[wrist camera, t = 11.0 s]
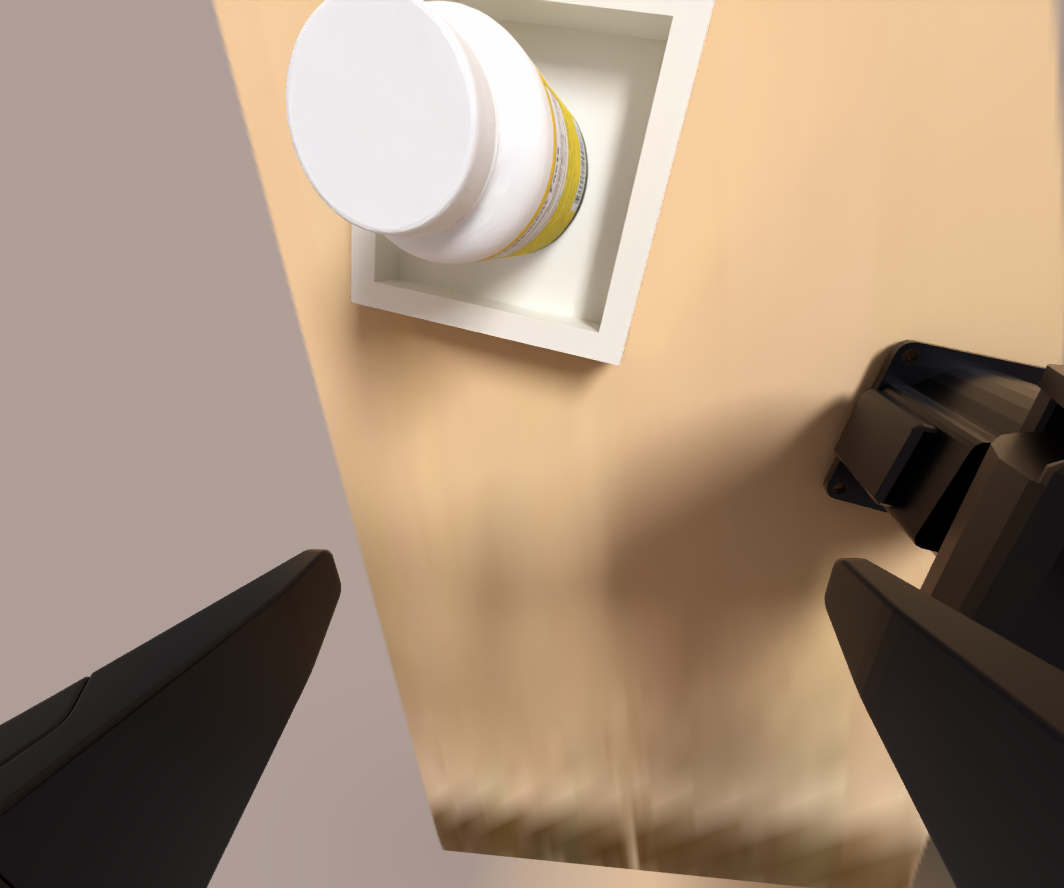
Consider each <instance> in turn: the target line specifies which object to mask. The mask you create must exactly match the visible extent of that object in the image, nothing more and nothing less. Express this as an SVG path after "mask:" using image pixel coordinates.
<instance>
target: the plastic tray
mask: <svg viewBox="0 0 1064 888" xmlns="http://www.w3.org/2000/svg"><path fill="white" fill-rule="evenodd" d="M423 1H425V2H426V1H450V2H455V3H460V4H463V5H466V6H469V7H471V8H474V9H477V10H479V11H481V12H482V13H484V14H486V15H488V16H489V17H491V18H492V19H493V20H495V21H496V22H497V23H498V24H500V25H501V26H502V27H503V28H504V29H505V30H506V31H507V32H508V33H509V34H510V35H511V36H512V37H513V38H514V39H515V40H516V41H517V42H518V44H519V45H520V46H521V47H522V49H523V50H524V51H525V53H526V54H527V55H528V57H529V58H530V59H531V61H532V62H533V63H534V65H535V66H536V67H537V69H538V70H539V71H540V73H541V74H542V75H543V77H544V78H545V79H546V81H547V82H548V83H549V84H550V86H551V87H552V88H553V90H554V91H555V92H556V94H557V95H558V96H559V98H560V99H561V100H562V101H563V103H564V104H565V105H566V107H567V108H568V109H569V111H570V112H571V114H572V115H573V117H574V118H575V120H576V122H577V124H578V125H579V127H580V130H581V132H582V134H583V137H584V140H585V144H586V148H587V154H588V163H589V176H588V185H587V190H586V194H585V198H584V201H583V204H582V206H581V209H580V211H579V213H578V215H577V216H576V218H575V220H574V221H573V223H572V224H571V225H570V227H569V228H568V229H567V231H566V232H565V233H564V234H563V235H562V236H561V237H560V238H558V239H557V240H556V241H555V242H553V243H552V244H550V245H549V246H547V247H545V248H543V249H541V250H539V251H536V252H533V253H530V254H525V255H521V256H514V257H506V258H499V259H491V260H484V261H478V262H470V263H461V264H457V263H452V264H450V263H439V262H432V261H429V260H425V259H422V258H419V257H417V256H414V255H412V254H410V253H408V252H406V251H405V250H403V249H401V248H399V247H398V246H397V245H395V244H394V243H393V242H391V241H390V240H389V239H388V238H387V237H386V236H384V235H383V234H378V233H373V232H370V231H367V230H364V229H362V228H359V227H357V226H355V225H353V224H352V254H351V302H352V303H356V304H360V305H364V306H369V307H373V308H377V309H381V310H386V311H390V312H394V313H398V314H403V315H407V316H411V317H415V318H419V319H424V320H428V321H432V322H436V323H441V324H445V325H449V326H453V327H458V328H462V329H466V330H470V331H474V332H479V333H483V334H487V335H491V336H496V337H500V338H504V339H508V340H513V341H517V342H521V343H525V344H529V345H534V346H538V347H542V348H546V349H551V350H555V351H559V352H563V353H568V354H572V355H576V356H580V357H584V358H589V359H593V360H597V361H601V362H606V363H610V364H614V365H618V366H619V364H620V361H621V358H622V355H623V353H624V349H625V345H626V341H627V338H628V334H629V330H630V326H631V322H632V318H633V315H634V311H635V307H636V303H637V299H638V296H639V292H640V288H641V284H642V280H643V277H644V273H645V269H646V265H647V261H648V258H649V254H650V250H651V246H652V242H653V238H654V235H655V231H656V227H657V223H658V219H659V216H660V212H661V208H662V204H663V200H664V197H665V193H666V189H667V185H668V181H669V178H670V174H671V170H672V166H673V162H674V158H675V155H676V151H677V147H678V143H679V139H680V136H681V132H682V128H683V124H684V120H685V117H686V113H687V109H688V105H689V101H690V98H691V94H692V90H693V86H694V82H695V78H696V75H697V71H698V67H699V63H700V59H701V56H702V52H703V48H704V44H705V40H706V37H707V33H708V29H709V25H710V21H711V18H712V14H713V9H714V5H715V1H716V0H423Z"/></svg>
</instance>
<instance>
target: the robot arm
mask: <svg viewBox="0 0 1064 888" xmlns="http://www.w3.org/2000/svg"><path fill="white" fill-rule="evenodd" d="M909 349H913V350H914V355H913V356H912V358H911V359H909V360H907V361H903V359H902V357H903V354H904V353H905V352H906V351H907V350H909ZM835 452H836V454H837V457H836V459H835V461H834V463H833V465H832V467H831V469H830V471H829V473H828V474H827V476H826V478H825V480H824V484H823V485H824V489H825V490H826V492H827V493H828V494H829V496H830V497H832V498H834V499H838V500H842V501H846V502H849V503H853V504H857V505H861V506H865V507H869V508H872V509H876V510H880V511H884V512H888V513H889V514H890V515H891V516H892V517H893V518H894V520H895V521H896V522H897V523H898V524H899V526H900V527H901V528H902V529H903V530H904V531H905V533H906V534H907V535H908V536H909V537H910V539H911V540H912V541H913V542H914V543H915V544H916V545H917V546H918V547H920V548H923V549H927V550H931V551H932V553H933V554H934V555H935V556H936V558H935V560H934V562H933V564H932V566H931V568H930V570H929V572H928V574H927V576H926V578H925V581H924V583H923V585H922V587H921V589H920V590H919V589H918V588H916V587H914V586H912V585H911V584H909V583H907V582H905V581H904V580H902V579H900V578H898V577H896V576H895V575H893V574H891V573H889V572H888V571H886V570H884V569H882V568H881V567H879V566H877V565H875V564H873V563H872V562H870V561H868V560H866V559H861V558H840V559H838V560H836V562H835V563H834V565H833V568H832V572H831V575H830V579H829V582H828V586H827V589H826V593H825V606H826V610H827V612H828V615H829V618H830V620H831V623H832V626H833V628H834V631H835V633H836V636H837V639H838V641H839V644H840V646H841V649H842V652H843V654H844V657H845V660H846V662H847V665H848V667H849V670H850V673H851V675H852V678H853V680H854V683H855V685H856V688H857V690H858V693H859V695H860V697H861V699H862V701H863V704H864V706H865V708H866V710H867V712H868V714H869V716H870V718H871V720H872V722H873V724H874V726H875V728H876V730H877V732H878V734H879V736H880V738H881V740H882V742H883V744H884V746H885V748H886V749H887V751H888V753H889V755H890V757H891V759H892V761H893V763H894V765H895V767H896V769H897V771H898V773H899V775H900V777H901V779H902V781H903V783H904V785H905V787H906V789H907V791H908V793H909V795H910V797H911V799H912V801H913V803H914V805H915V807H916V809H917V811H918V813H919V815H920V817H921V819H922V821H923V823H924V825H925V827H926V829H927V831H928V833H929V835H930V837H931V839H932V840H933V842H934V844H935V846H936V848H937V850H938V852H939V854H940V856H941V858H942V860H943V862H944V864H945V866H946V868H947V870H948V872H949V874H950V876H951V878H952V880H953V882H954V884H955V886H956V888H1064V365H1053V364H1049V365H1047V367H1046V368H1044V367H1040V366H1035V365H1030V364H1025V363H1020V362H1016V361H1011V360H1006V359H1001V358H996V357H992V356H987V355H982V354H977V353H972V352H968V351H963V350H958V349H953V348H948V347H944V346H939V345H934V344H929V343H924V342H920V341H915V340H905V341H901V342H899V343H898V344H896V345H895V346H894V347H893V348H892V350H891V351H890V353H889V355H888V357H887V359H886V361H885V363H884V365H883V367H882V369H881V371H880V373H879V375H878V377H877V379H876V381H875V383H874V384H873V386H872V388H871V389H870V390H868V391H866V392H864V393H863V394H862V395H861V397H860V399H859V401H858V403H857V405H856V407H855V409H854V411H853V413H852V415H851V417H850V419H849V421H848V423H847V425H846V427H845V429H844V431H843V433H842V435H841V437H840V439H839V441H838V443H837V445H836V447H835ZM838 483H844V486H843V487H842V488H840V489H833V488H834V486H835V485H836V484H838ZM340 593H341V583H340V579H339V575H338V572H337V568H336V565H335V562H334V558H333V555H332V553H331V552H330V551H328V550H318V549H310V550H306V551H304V552H302V553H300V554H298V555H297V556H295V557H293V558H291V559H290V560H288V561H286V562H285V563H283V564H281V565H279V566H278V567H276V568H274V569H272V570H271V571H269V572H267V573H266V574H264V575H262V576H260V577H259V578H257V579H255V580H253V581H251V582H250V583H248V584H246V585H245V586H243V587H241V588H239V589H238V590H236V591H234V592H232V593H231V594H229V595H227V596H225V597H224V598H222V599H220V600H218V601H217V602H215V603H213V604H212V605H210V606H208V607H206V608H205V609H203V610H201V611H199V612H198V613H196V614H194V615H192V616H191V617H189V618H187V619H185V620H184V621H182V622H180V623H178V624H177V625H175V626H173V627H172V628H170V629H168V630H166V631H165V632H163V633H161V634H159V635H158V636H156V637H154V638H152V639H151V640H149V641H147V642H146V643H144V644H142V645H140V646H138V647H137V648H135V649H133V650H132V651H130V652H128V653H126V654H125V655H123V656H121V657H119V658H118V659H116V660H114V661H112V662H111V663H109V664H107V665H106V666H104V667H102V668H100V669H99V670H97V671H95V672H93V673H92V674H91V676H90V677H84V678H83V679H81V680H79V681H78V682H76V683H74V684H72V685H71V686H69V687H67V688H65V689H64V690H62V691H60V692H58V693H57V694H55V695H53V696H51V697H50V698H48V699H46V700H44V701H43V702H41V703H39V704H37V705H35V706H34V707H32V708H30V709H28V710H26V711H25V712H23V713H21V714H19V715H18V716H16V717H14V718H12V719H10V720H9V721H7V722H5V723H3V724H1V725H0V888H207V886H208V884H209V882H210V880H211V878H212V876H213V874H214V872H215V870H216V868H217V865H218V864H219V862H220V860H221V857H222V855H223V853H224V851H225V849H226V847H227V845H228V843H229V841H230V839H231V837H232V835H233V833H234V831H235V829H236V826H237V824H238V822H239V820H240V818H241V816H242V814H243V812H244V810H245V808H246V806H247V804H248V802H249V800H250V798H251V796H252V794H253V792H254V790H255V788H256V785H257V783H258V781H259V779H260V777H261V775H262V773H263V771H264V769H265V767H266V765H267V763H268V761H269V759H270V757H271V755H272V753H273V750H274V749H275V747H276V744H277V742H278V740H279V738H280V736H281V734H282V732H283V730H284V728H285V726H286V724H287V722H288V720H289V718H290V716H291V714H292V712H293V709H294V707H295V705H296V703H297V701H298V699H299V697H300V695H301V693H302V691H303V689H304V687H305V685H306V683H307V680H308V678H309V676H310V674H311V672H312V669H313V667H314V664H315V662H316V659H317V656H318V654H319V651H320V649H321V646H322V643H323V640H324V638H325V635H326V632H327V629H328V627H329V624H330V621H331V619H332V616H333V613H334V611H335V608H336V605H337V602H338V600H339V597H340Z"/></svg>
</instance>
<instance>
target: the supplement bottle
mask: <svg viewBox="0 0 1064 888" xmlns="http://www.w3.org/2000/svg"><path fill="white" fill-rule="evenodd" d="M286 108H287V118H288V124H289V130H290V134H291V139H292V143H293V146H294V149H295V152H296V154H297V157H298V159H299V162H300V164H301V166H302V168H303V170H304V172H305V174H306V176H307V178H308V179H309V181H310V183H311V184H312V186H313V187H314V189H315V190H316V192H317V193H318V194H319V196H320V197H321V198H322V199H323V200H324V201H325V202H326V203H327V205H328V206H329V207H330V208H331V209H333V210H334V211H335V212H336V213H337V214H338V215H339V216H341V217H342V218H344V219H345V220H346V221H348V222H350V223H351V224H353V225H355V226H357V227H359V228H362V229H364V230H367V231H370V232H373V233H378V234H383V235H384V236H386V237H387V238H388V239H389V240H390V241H391V242H393V243H394V244H395V245H397V246H398V247H399V248H401V249H403V250H405V251H406V252H408V253H410V254H412V255H414V256H417V257H419V258H422V259H425V260H429V261H432V262H439V263H450V264H452V263H457V264H461V263H470V262H478V261H484V260H491V259H499V258H506V257H514V256H521V255H525V254H530V253H533V252H536V251H539V250H541V249H543V248H545V247H547V246H549V245H550V244H552V243H553V242H555V241H556V240H557V239H558V238H560V237H561V236H562V235H563V234H564V233H565V232H566V231H567V229H568V228H569V227H570V225H571V224H572V223H573V221H574V220H575V218H576V216H577V215H578V213H579V211H580V209H581V206H582V204H583V201H584V198H585V194H586V190H587V185H588V176H589V163H588V154H587V148H586V144H585V140H584V137H583V134H582V132H581V130H580V127H579V125H578V124H577V122H576V120H575V118H574V117H573V115H572V114H571V112H570V111H569V109H568V108H567V107H566V105H565V104H564V103H563V101H562V100H561V99H560V98H559V96H558V95H557V94H556V92H555V91H554V90H553V88H552V87H551V86H550V84H549V83H548V82H547V81H546V79H545V78H544V77H543V75H542V74H541V73H540V71H539V70H538V69H537V67H536V66H535V65H534V63H533V62H532V61H531V59H530V58H529V57H528V55H527V54H526V53H525V51H524V50H523V49H522V47H521V46H520V45H519V44H518V42H517V41H516V40H515V39H514V38H513V37H512V36H511V35H510V34H509V33H508V32H507V31H506V30H505V29H504V28H503V27H502V26H501V25H500V24H498V23H497V22H496V21H495V20H493V19H492V18H491V17H489V16H488V15H486V14H484V13H482V12H481V11H479V10H477V9H474V8H471V7H469V6H466V5H463V4H460V3H455V2H450V1H426V2H425V1H423V0H325V1H324V2H323V3H322V4H321V5H320V6H319V7H318V8H317V9H316V10H315V11H314V12H313V13H312V15H311V16H310V17H309V18H308V20H307V21H306V23H305V24H304V26H303V28H302V30H301V32H300V34H299V36H298V38H297V40H296V43H295V46H294V48H293V52H292V56H291V59H290V63H289V68H288V74H287V83H286Z"/></svg>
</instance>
